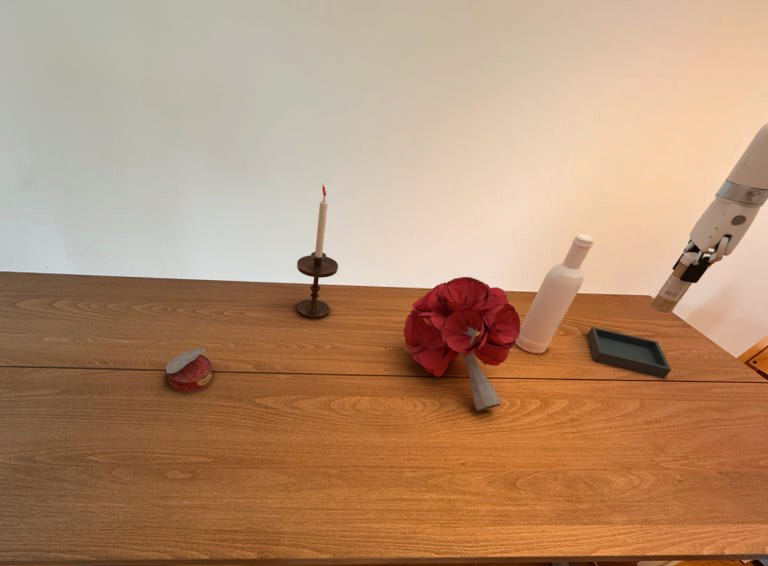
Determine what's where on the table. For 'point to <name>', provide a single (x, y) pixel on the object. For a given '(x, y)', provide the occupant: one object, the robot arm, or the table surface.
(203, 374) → the canned food
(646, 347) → the serving tray
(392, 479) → the table surface
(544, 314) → the bottle
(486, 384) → the bouquet
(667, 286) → the sprinkles bottle
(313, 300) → the candlestick
